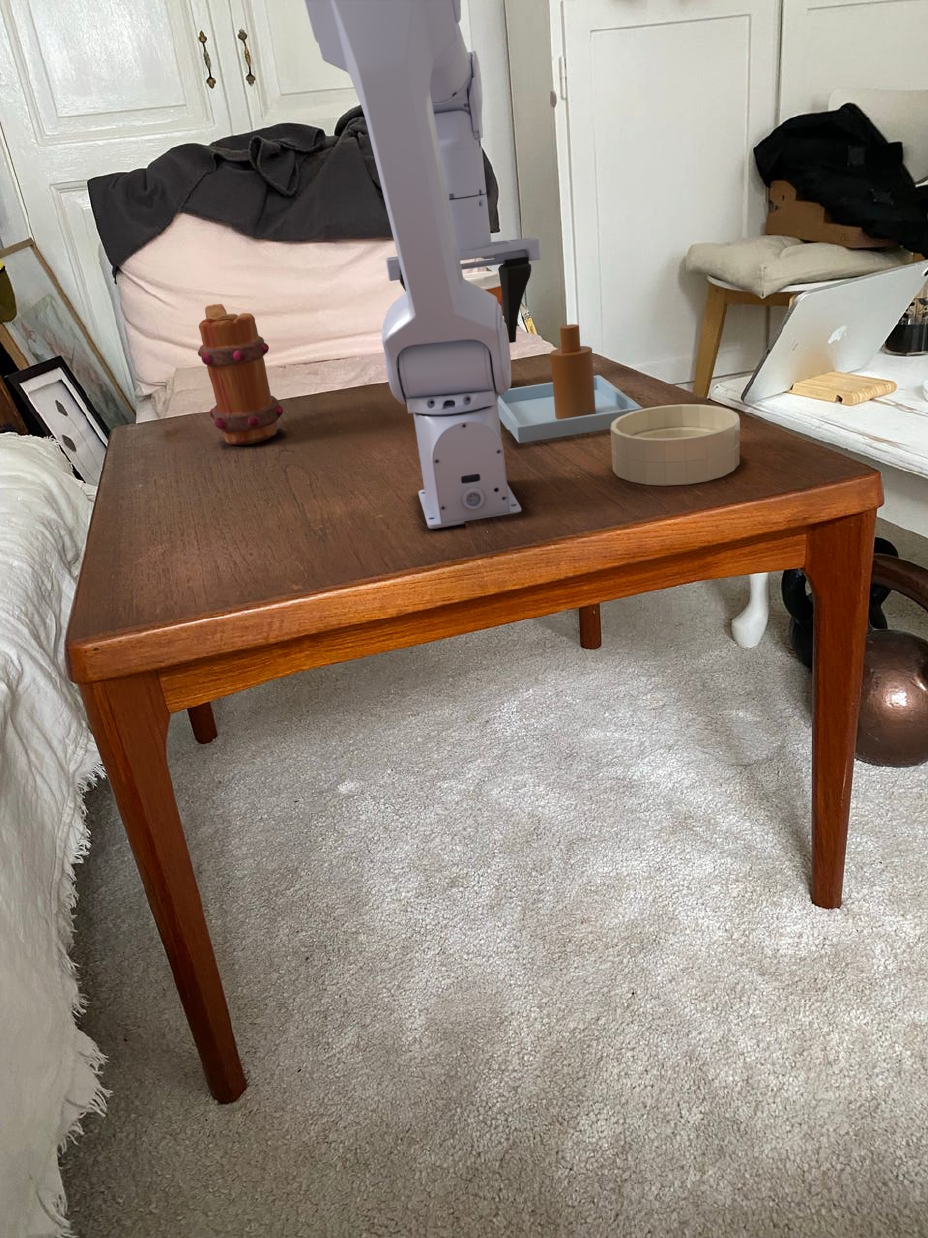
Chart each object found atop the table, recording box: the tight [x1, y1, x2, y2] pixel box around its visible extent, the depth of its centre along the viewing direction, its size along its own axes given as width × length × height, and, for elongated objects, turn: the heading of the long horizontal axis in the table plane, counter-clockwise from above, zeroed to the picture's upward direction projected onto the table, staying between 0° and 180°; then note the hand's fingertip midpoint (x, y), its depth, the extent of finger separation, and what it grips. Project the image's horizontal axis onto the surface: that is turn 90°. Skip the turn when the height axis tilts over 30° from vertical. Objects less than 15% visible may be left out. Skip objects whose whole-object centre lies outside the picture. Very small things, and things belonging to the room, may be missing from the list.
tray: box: [497, 374, 644, 444], centre depth 105 cm, size 17×13×2 cm
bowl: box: [610, 403, 741, 487], centre depth 84 cm, size 11×11×4 cm
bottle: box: [549, 323, 596, 420], centre depth 101 cm, size 4×4×10 cm
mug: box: [197, 303, 284, 446], centre depth 112 cm, size 15×8×15 cm, turn 22°
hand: (472, 346), depth 94 cm, fingers open, 7 cm apart
